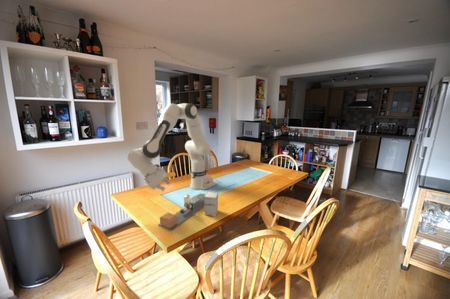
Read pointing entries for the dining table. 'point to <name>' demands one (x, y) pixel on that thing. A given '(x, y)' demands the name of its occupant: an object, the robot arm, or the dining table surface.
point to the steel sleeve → (197, 201)
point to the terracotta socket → (168, 220)
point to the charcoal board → (183, 217)
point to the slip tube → (186, 204)
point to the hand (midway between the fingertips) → (166, 186)
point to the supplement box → (211, 203)
